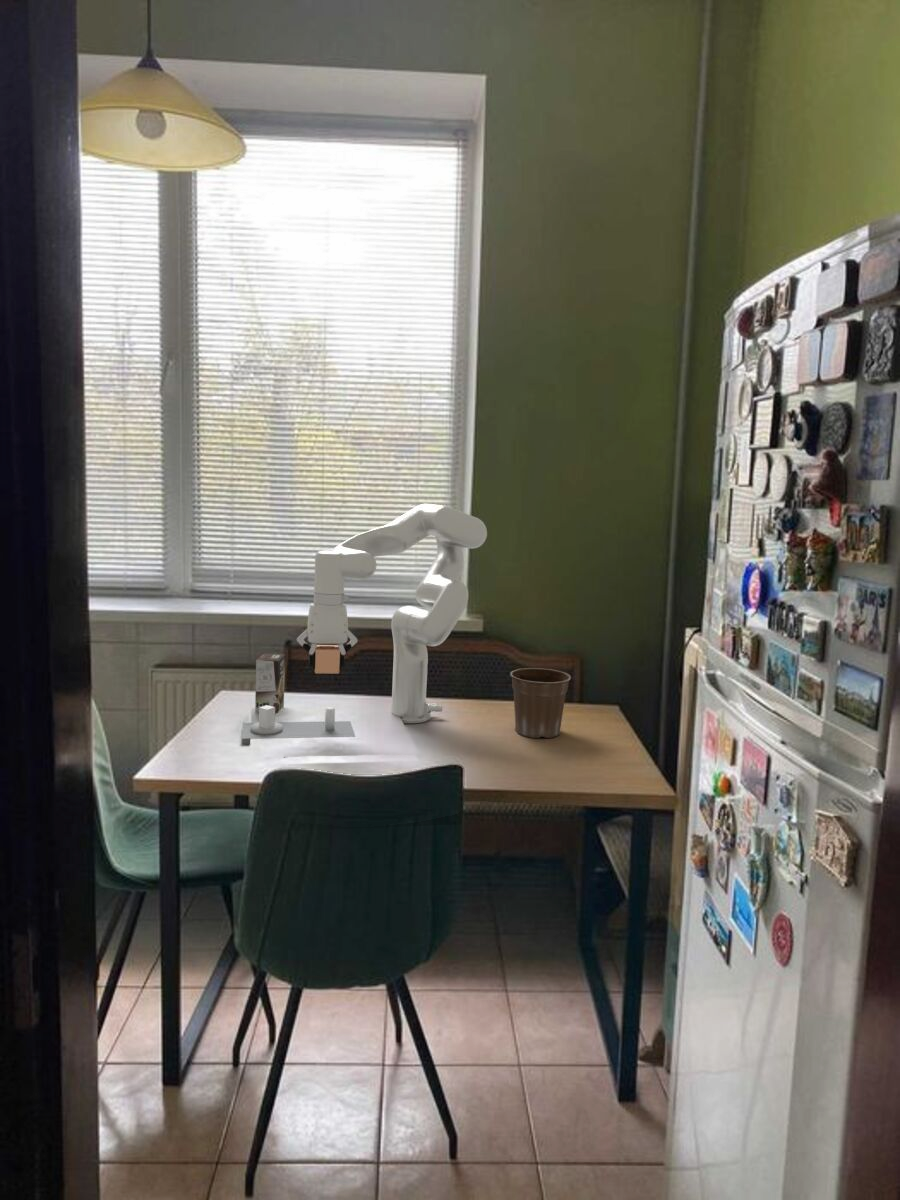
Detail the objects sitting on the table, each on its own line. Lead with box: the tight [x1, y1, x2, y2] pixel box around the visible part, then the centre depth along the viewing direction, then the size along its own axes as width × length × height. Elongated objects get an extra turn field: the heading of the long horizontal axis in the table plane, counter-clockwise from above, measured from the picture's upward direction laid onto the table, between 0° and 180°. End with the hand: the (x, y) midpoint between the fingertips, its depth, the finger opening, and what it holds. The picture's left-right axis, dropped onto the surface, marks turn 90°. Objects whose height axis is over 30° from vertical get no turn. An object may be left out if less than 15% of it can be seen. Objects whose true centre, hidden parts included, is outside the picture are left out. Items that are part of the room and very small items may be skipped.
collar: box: [313, 644, 340, 675], centre depth 222 cm, size 6×6×6 cm
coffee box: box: [254, 653, 286, 714], centre depth 241 cm, size 9×6×16 cm
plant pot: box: [509, 667, 572, 739], centre depth 236 cm, size 16×16×16 cm
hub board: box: [241, 705, 356, 745], centre depth 224 cm, size 28×13×8 cm, turn 102°
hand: (326, 668), depth 223 cm, fingers closed on collar, 6 cm apart
